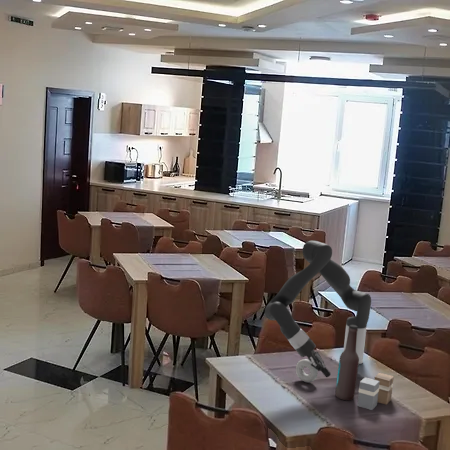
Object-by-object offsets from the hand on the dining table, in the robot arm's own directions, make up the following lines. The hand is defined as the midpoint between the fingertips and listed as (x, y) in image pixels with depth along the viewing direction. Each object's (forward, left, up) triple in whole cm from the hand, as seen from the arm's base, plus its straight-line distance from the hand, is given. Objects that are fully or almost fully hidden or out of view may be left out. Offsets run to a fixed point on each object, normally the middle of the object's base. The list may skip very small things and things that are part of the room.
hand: (328, 375), depth 274 cm
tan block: (-10, +20, -8) cm, 23 cm away
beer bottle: (-3, +7, -8) cm, 11 cm away
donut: (-7, -12, -8) cm, 16 cm away
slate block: (-1, +17, -8) cm, 19 cm away
